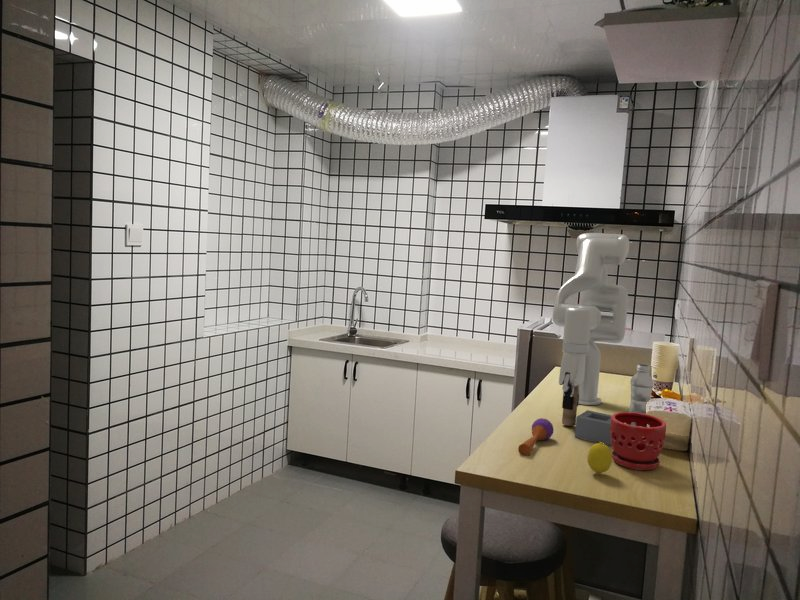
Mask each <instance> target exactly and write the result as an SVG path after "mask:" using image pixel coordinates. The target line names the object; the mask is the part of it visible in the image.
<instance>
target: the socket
mask: <svg viewBox="0 0 800 600" xmlns="http://www.w3.org/2000/svg"><path fill="white" fill-rule="evenodd" d="M612 415H613V414H607V413H603V412H597V411H592V410H589V409H586V410H585V411H584V412H582V413H581V414H579V415H576V425H575V431H574V438H576V437H577V438H576V439H580V438H581V440H584V439H586V440H585V441H590V442H593V441H594V443H597V442H603V443H604V444H605V445H606V444H607V445H606V446H612V443H611V434H610V423H611V416H612Z"/></svg>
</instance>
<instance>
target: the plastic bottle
mask: <svg viewBox="0 0 800 600" xmlns="http://www.w3.org/2000/svg"><path fill="white" fill-rule="evenodd" d="M650 373H651V365H649V364H643V363H638V364H637V366H636V372H635V373H634V375H633V376H632V377H631V379H630V404H629V408H628V412H634V413H642V414H646V404H647V402H648V401H649V400H650V401H651V397H652V392H653V388H654V380H653V378H652V377H651V375H650ZM631 425H633V426H636V423H635V422H632V423H631ZM640 427H642V426H640Z"/></svg>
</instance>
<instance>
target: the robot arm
mask: <svg viewBox="0 0 800 600" xmlns="http://www.w3.org/2000/svg"><path fill="white" fill-rule="evenodd" d="M576 250H577V254H578V256H577V262H576V265H575V271H574V276H572V277H571V278H569V279H568V280H567V281H565V282H564V283H563V285H561V287H560V288H559V289H558V291H557V293H556V295H555V301H554V305H553V309H552V321H553V323H554V324H555V325H556V326H558V327H563V337H562V339H563V340H562V349H561V351H562V353H563V354H562V356H561V361H560V362H561V363H560V369H559V376H558V385H560V386H562V403H561V405H562V406H561V408H562V409H563V408H564V409H568V410H573V405H574V397H573V393H574V387H576V386H577V385H579V391H578V402H577V407H579V405H585V406H598V405H601V404H602V399H601V398H599V396H598V391H599V382H600V380H599V379H600V370H601V359H602V354H601V350H600V348H599V347H598V346H597V344H596V343H595V342H598V343H599V342H600V343H601V342H602V343H609V344H620V343H622V341H623V340H624V338H625V334H626V327H627V315H628V314H627V313H628V304H629V303H628V302H629V294H628V290H627V288H626V287H624V286H623V285H620V284H611V283H610V284H608V275H609V270H608V267H607V265H614V266H615V265H617V266H619V265H623V263H624V262H625V260H626V259H627V256H628V255H629V252H630V251H629V250H630V239H629V237H628V236H627V235H626V234H620V233H619V234H618V233H604V232H603V233H602V232H586V233H580V234H579V235H578V236H577V238H576ZM578 293H580V301H579V302H580V303H571V302H566V301H567V300H568V299H569V298H570V297H571V296H574V295H575V294H578ZM601 312H610V313H612V314H613V315H608V314H602V313H601ZM569 384H572V385H571V386H569ZM569 388H571V391H570V389H569Z"/></svg>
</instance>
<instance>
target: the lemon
mask: <svg viewBox="0 0 800 600" xmlns="http://www.w3.org/2000/svg"><path fill="white" fill-rule="evenodd" d="M611 452H612V450H611V449H610V447H609V445H606V444H603V442H599V443H597V442H595V443H594V444H593V445H591V447H590V448H589V450H588V452H587V453H588V454H587V463H588V464H587V465H588V466H589V468H590V469H591V470H592V471H593V472H595V474H596V475H598V474H599V475H601V474H603V473H605V472H607V471H609V469H610V468H611V466H612V461H613V458H612V455H611Z"/></svg>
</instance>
